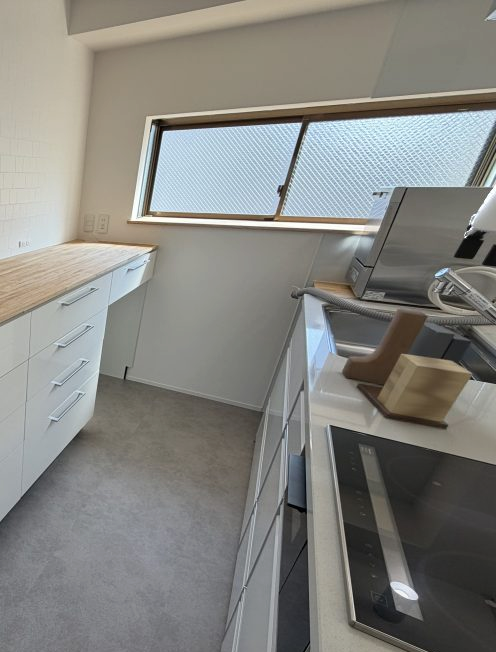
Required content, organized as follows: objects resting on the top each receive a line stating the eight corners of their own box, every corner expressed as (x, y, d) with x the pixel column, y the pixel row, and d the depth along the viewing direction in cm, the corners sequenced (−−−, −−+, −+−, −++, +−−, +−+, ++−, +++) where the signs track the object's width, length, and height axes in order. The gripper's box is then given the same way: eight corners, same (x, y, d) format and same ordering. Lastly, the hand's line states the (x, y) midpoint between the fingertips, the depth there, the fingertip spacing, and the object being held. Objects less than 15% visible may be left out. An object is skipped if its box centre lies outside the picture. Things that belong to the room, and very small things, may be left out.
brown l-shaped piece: (344, 377, 105) (378, 308, 96) (341, 371, 108) (373, 304, 100) (390, 386, 101) (429, 315, 93) (385, 379, 104) (422, 311, 96)
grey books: (418, 381, 104) (451, 325, 97) (437, 396, 97) (474, 336, 90) (388, 376, 106) (418, 321, 99) (404, 391, 99) (438, 332, 92)
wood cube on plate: (408, 395, 97) (435, 348, 91) (446, 429, 83) (481, 376, 78) (356, 386, 100) (380, 340, 94) (385, 417, 87) (414, 366, 81)
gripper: (599, 170, 69) (531, 272, 77) (525, 171, 84) (474, 257, 92) (540, 167, 72) (479, 267, 80) (478, 169, 86) (432, 253, 94)
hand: (476, 262), depth 86 cm, fingers open, 9 cm apart
